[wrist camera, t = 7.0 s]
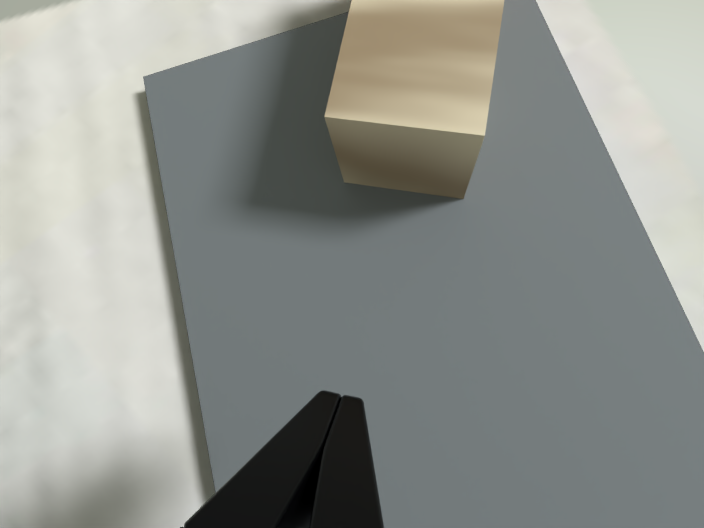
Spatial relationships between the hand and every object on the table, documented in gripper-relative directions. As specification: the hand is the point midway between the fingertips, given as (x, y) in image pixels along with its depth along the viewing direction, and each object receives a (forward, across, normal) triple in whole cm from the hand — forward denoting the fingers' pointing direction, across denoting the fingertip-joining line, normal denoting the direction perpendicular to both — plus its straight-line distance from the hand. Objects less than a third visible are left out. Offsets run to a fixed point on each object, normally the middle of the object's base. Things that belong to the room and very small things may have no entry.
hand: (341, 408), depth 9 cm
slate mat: (+9, 0, +2) cm, 9 cm away
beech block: (+8, 0, -2) cm, 9 cm away
